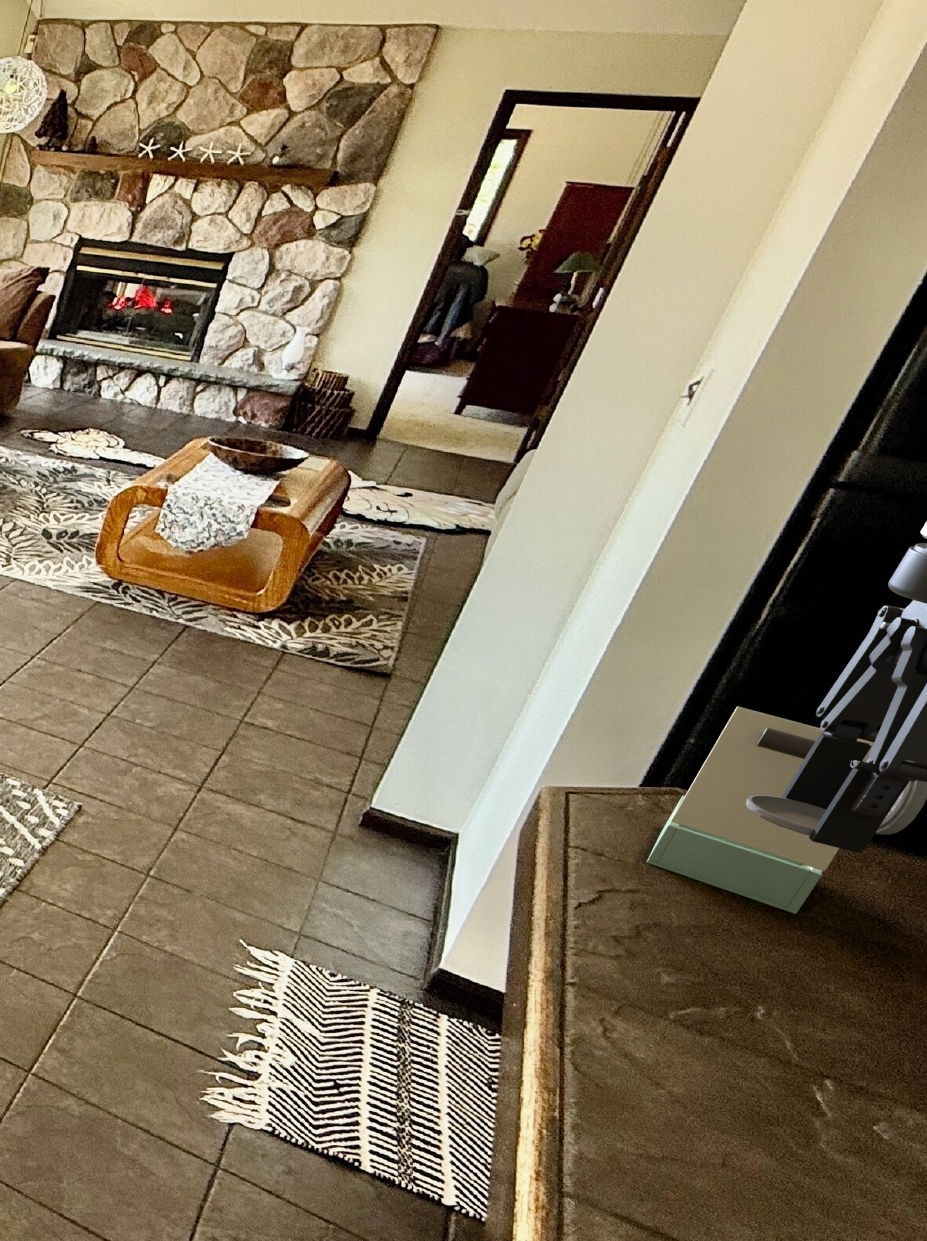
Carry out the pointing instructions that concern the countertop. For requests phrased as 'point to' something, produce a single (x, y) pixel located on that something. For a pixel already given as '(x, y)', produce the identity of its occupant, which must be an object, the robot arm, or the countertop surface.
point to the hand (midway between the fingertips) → (818, 826)
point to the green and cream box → (733, 866)
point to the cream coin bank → (753, 786)
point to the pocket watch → (808, 816)
